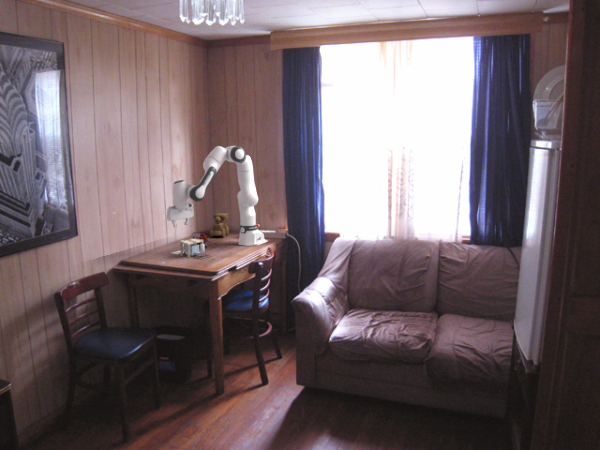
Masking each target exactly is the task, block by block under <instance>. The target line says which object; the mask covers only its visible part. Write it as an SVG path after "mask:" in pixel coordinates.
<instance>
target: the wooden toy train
mask: <svg viewBox="0 0 600 450" xmlns="http://www.w3.org/2000/svg"><path fill="white" fill-rule="evenodd" d="M213 219H214V223H213V226H212V228H210V231H209V234H210V237H211V238H214V237H215V236H217V237H218V236H219V237H221V236H222V238H226V236H228V235H229V233H230V228H229V226H228V219H229V213H227V212H217V213H214V214H213Z"/></svg>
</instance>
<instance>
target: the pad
mask: <svg viewBox="0 0 600 450" xmlns="http://www.w3.org/2000/svg"><path fill="white" fill-rule="evenodd" d="M171 254H174V255H180V250H177V251H173V252H171ZM183 254H185V253H184V252H183Z"/></svg>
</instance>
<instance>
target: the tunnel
mask: <svg viewBox="0 0 600 450" xmlns="http://www.w3.org/2000/svg"><path fill="white" fill-rule="evenodd" d="M198 242H201V244H203V240H201V239H196V238H195V239H193V238H191V239H186V240H184V241H181V242H180V241H179V251H180V254H179V256H180V257H183V256H184V253H183V244H184V245H187V254H186V256H187V259H189V257H190V258H191V255H190V244H196V243H198ZM196 245H197V244H196Z"/></svg>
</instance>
